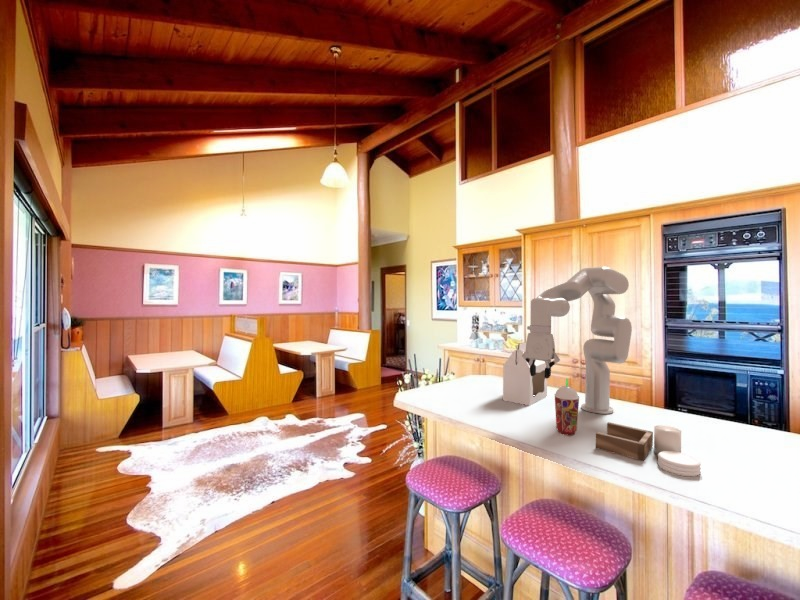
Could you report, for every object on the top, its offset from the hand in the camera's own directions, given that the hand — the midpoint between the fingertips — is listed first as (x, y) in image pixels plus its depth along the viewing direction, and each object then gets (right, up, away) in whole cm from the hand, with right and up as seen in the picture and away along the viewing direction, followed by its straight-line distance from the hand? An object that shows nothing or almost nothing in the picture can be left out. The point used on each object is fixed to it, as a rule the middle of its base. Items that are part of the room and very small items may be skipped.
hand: (540, 376), depth 142 cm
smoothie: (+7, -20, -7) cm, 22 cm away
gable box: (+8, -19, +39) cm, 44 cm away
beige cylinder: (+32, -20, -24) cm, 45 cm away
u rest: (+20, -20, -19) cm, 34 cm away
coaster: (+28, -20, -34) cm, 49 cm away
